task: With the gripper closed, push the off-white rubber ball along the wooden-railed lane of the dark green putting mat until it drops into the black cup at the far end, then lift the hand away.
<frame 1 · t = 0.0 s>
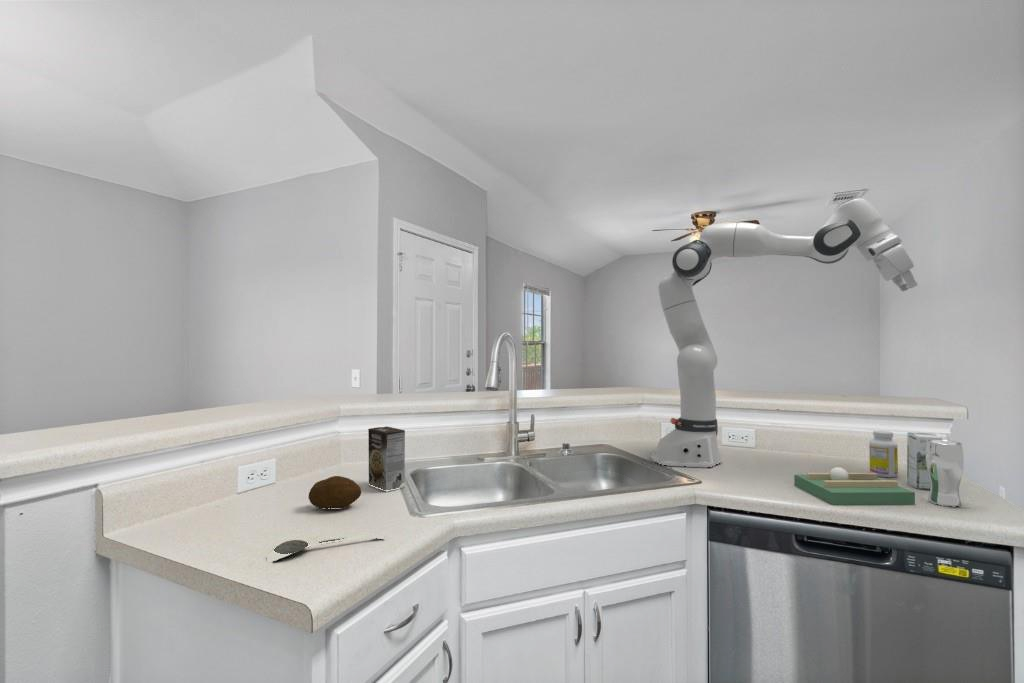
hand: (910, 288, 135), 54 cm above the worktop, tool tilted 30°, fingers open, 8 cm apart
supplement bottle: (883, 475, 143), on the worktop
beer glass: (944, 504, 119), on the worktop
coffee box: (386, 487, 135), on the worktop
potato: (335, 508, 118), on the worktop
putting mat: (850, 494, 126), on the worktop
syrup box: (924, 488, 131), on the worktop
ball: (839, 475, 126), point 5 cm above the worktop, touching putting mat
soupspoon: (327, 551, 95), on the worktop
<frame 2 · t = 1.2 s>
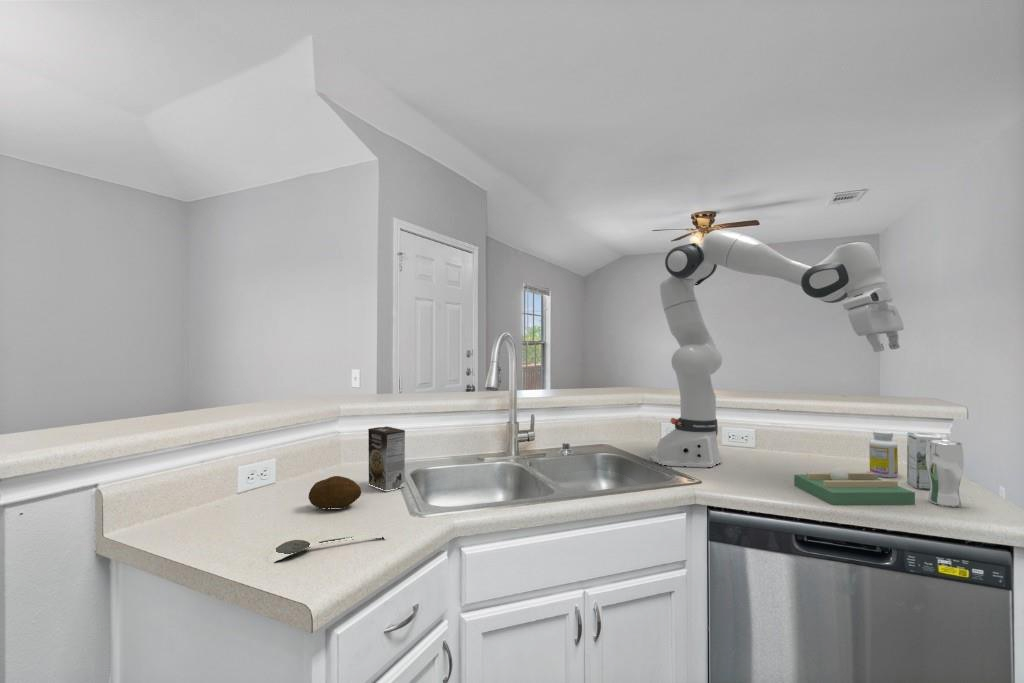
hand: (887, 350, 125), 37 cm above the worktop, tool tilted 15°, fingers open, 8 cm apart
nothing on the worktop moved.
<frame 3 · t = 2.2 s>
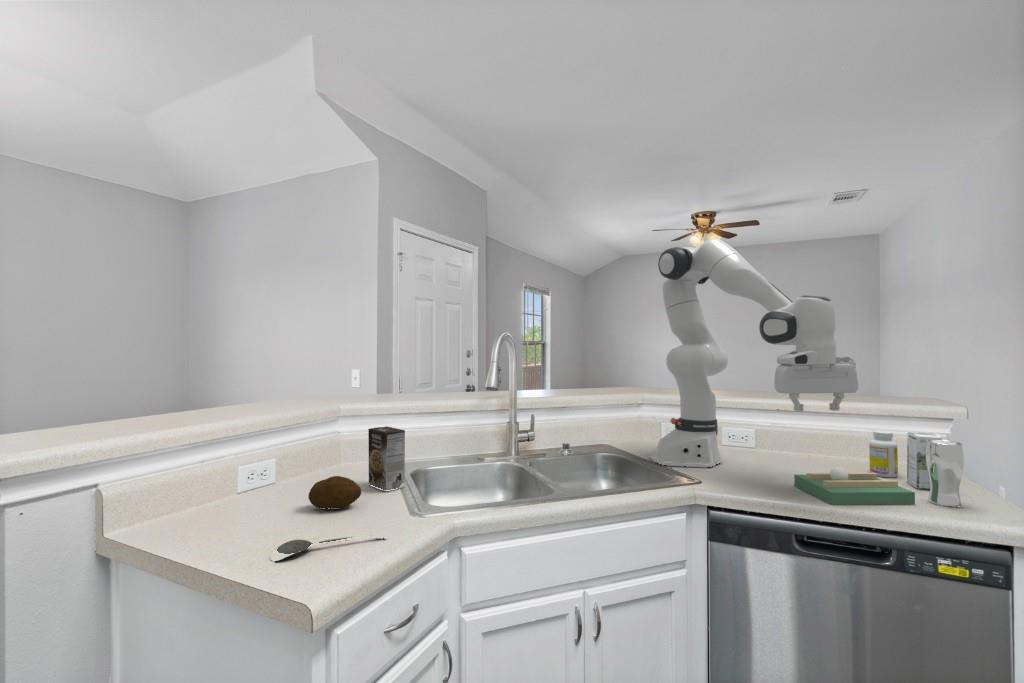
hand: (816, 410, 126), 22 cm above the worktop, tool pointing down, fingers open, 8 cm apart
nothing on the worktop moved.
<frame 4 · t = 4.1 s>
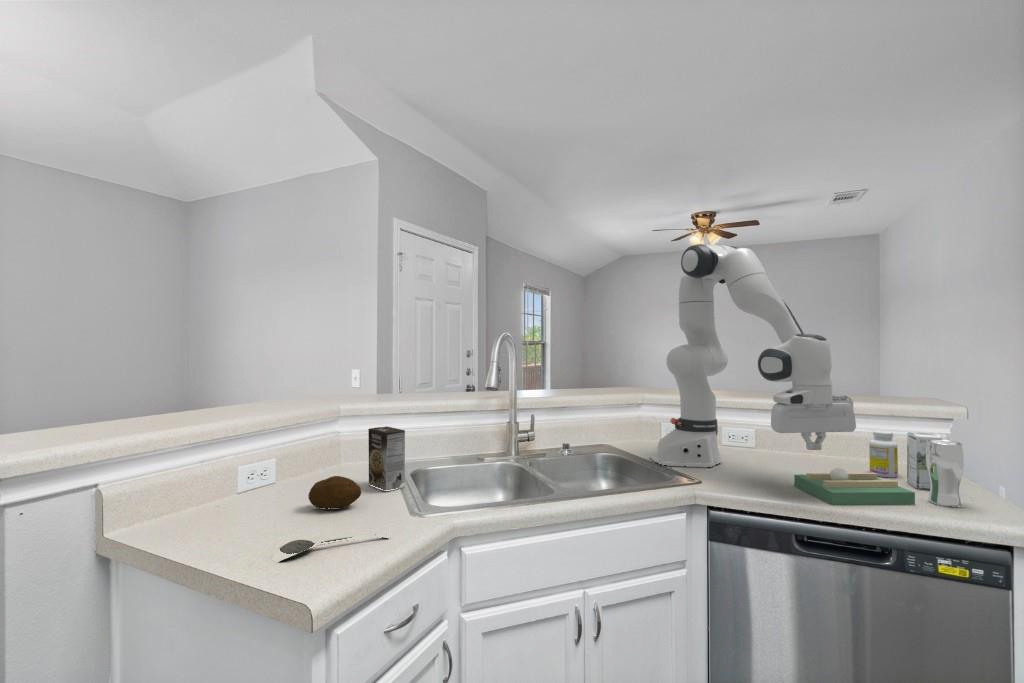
hand: (813, 449, 125), 12 cm above the worktop, tool pointing down, fingers closed
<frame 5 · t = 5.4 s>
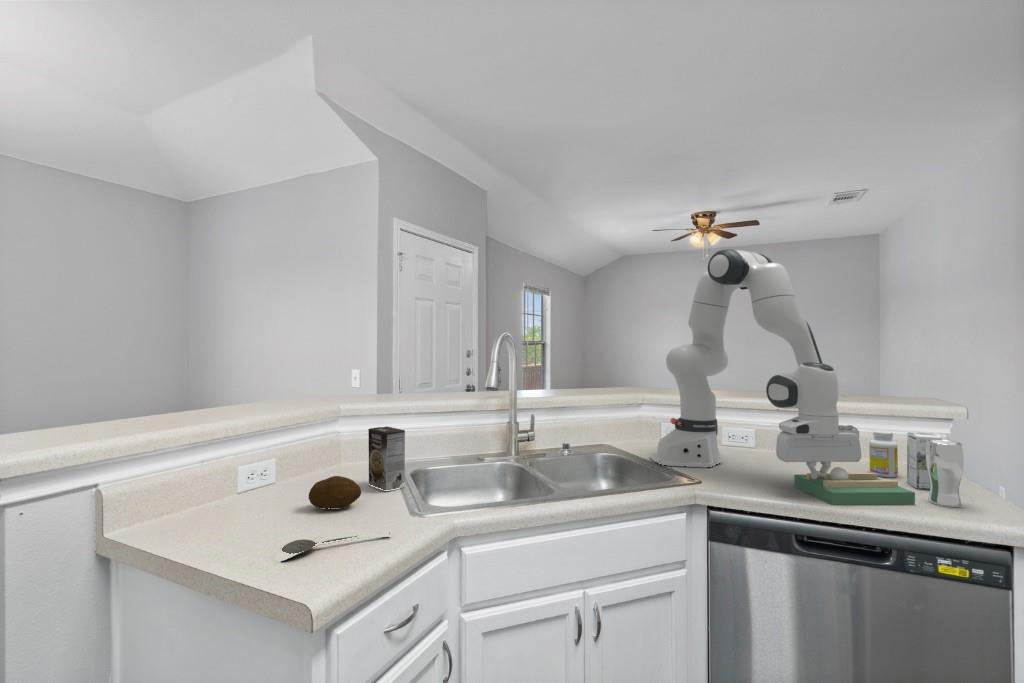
hand: (818, 478, 126), 4 cm above the worktop, tool pointing down, fingers closed
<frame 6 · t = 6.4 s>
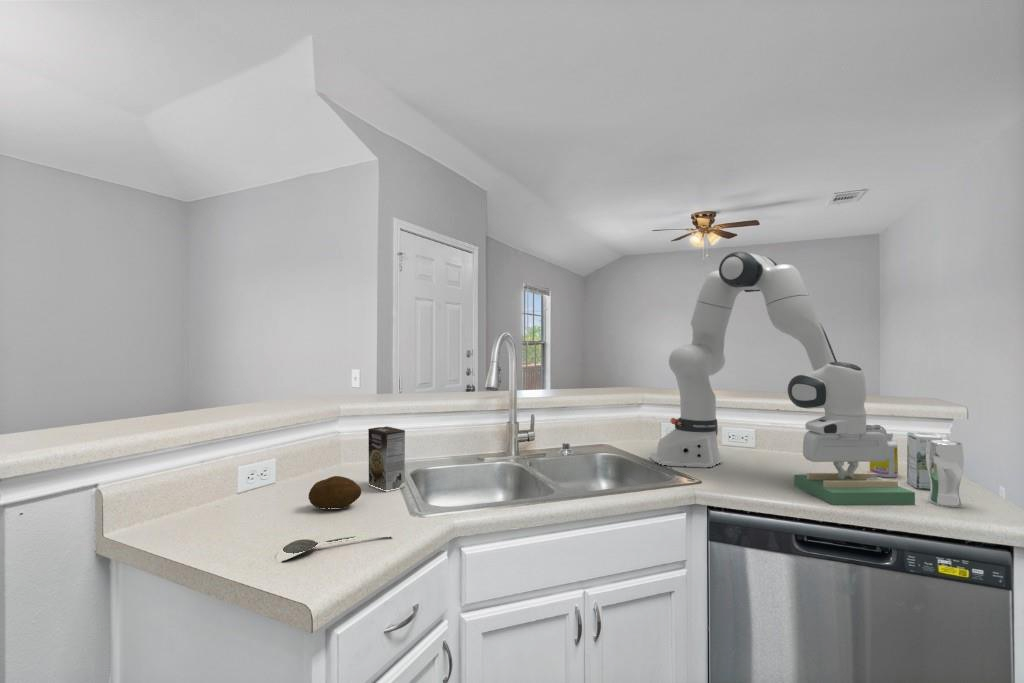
hand: (845, 478, 125), 4 cm above the worktop, tool pointing down, fingers closed
ball: (873, 485, 125), point 2 cm above the worktop, tilted 90°, touching putting mat
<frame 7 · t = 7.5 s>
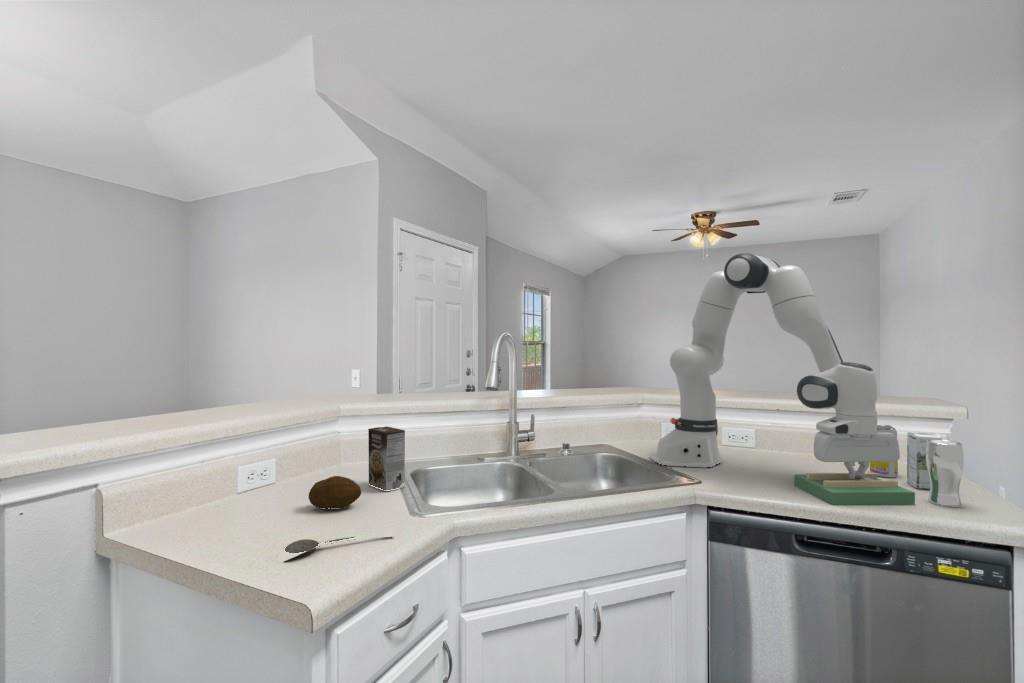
hand: (856, 478, 126), 4 cm above the worktop, tool pointing down, fingers closed
ball: (868, 485, 125), point 2 cm above the worktop, tilted 134°, touching putting mat
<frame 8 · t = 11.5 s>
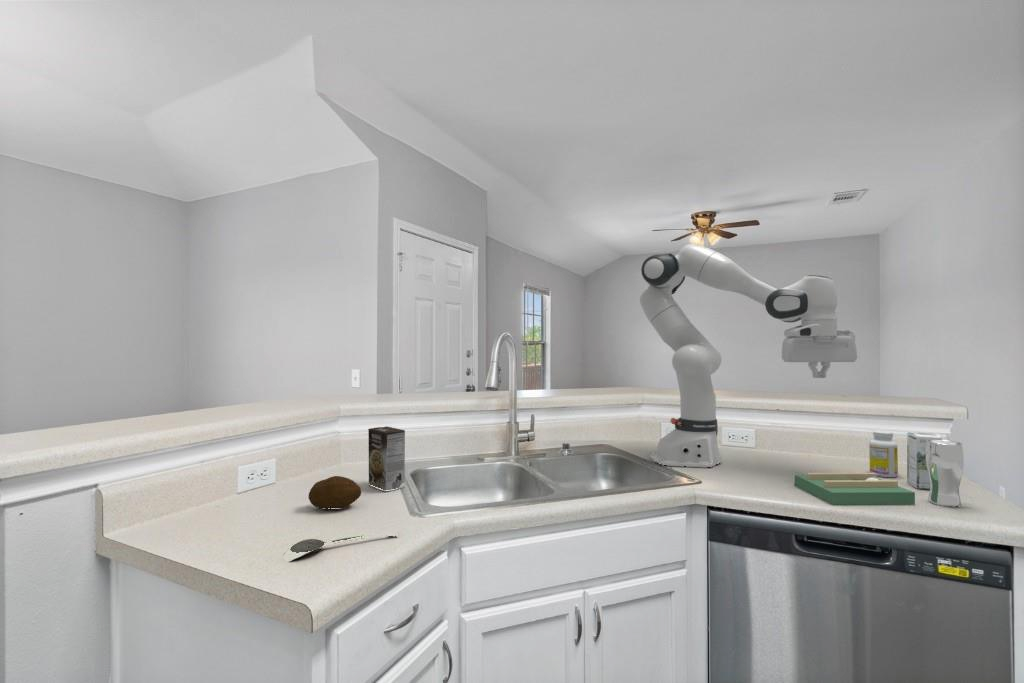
hand: (819, 377, 142), 29 cm above the worktop, tool pointing down, fingers closed
ball: (873, 485, 125), point 2 cm above the worktop, tilted 93°, touching putting mat
soupspoon: (343, 549, 95), on the worktop
everything else where it was.
at the end: ball 0.8 cm from the target spot on the putting mat, point 2.4 cm above the putting mat's base; ball moved 9.1 cm from its start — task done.
